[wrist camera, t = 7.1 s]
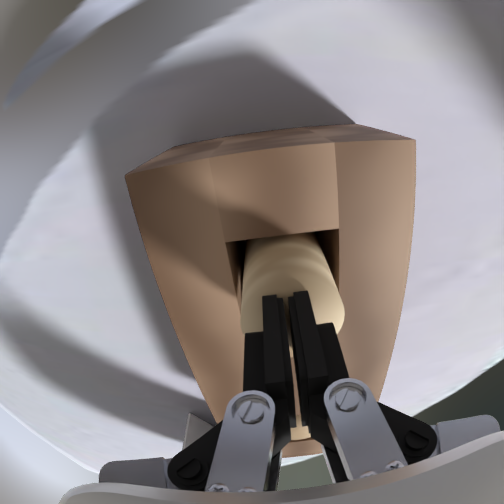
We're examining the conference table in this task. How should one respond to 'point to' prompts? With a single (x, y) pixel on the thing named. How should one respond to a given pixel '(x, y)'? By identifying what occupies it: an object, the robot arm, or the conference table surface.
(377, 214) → the walnut block
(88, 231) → the conference table surface
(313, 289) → the peg
